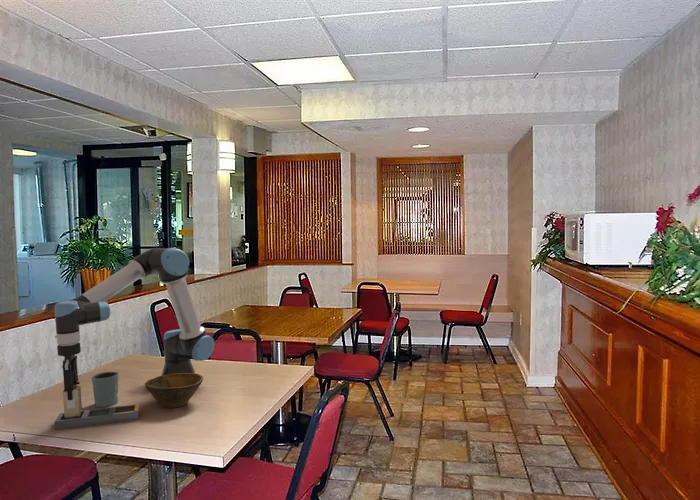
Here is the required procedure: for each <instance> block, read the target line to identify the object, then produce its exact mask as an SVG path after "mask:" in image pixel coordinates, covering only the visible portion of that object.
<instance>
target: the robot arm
mask: <svg viewBox="0 0 700 500" xmlns="http://www.w3.org/2000/svg"><path fill="white" fill-rule="evenodd" d="M189 266H190V259H189V257H188V255H187V253H185V251H183V249H180V248H176V247H167V248H166V247H165V248H164V247H154V248H149V249H147V250H146V251H144V252H142V253H140V254H139V255H137V256H135V257H133V258H132V259H131V260H129V261H128V264H127V265H126V266H124V267H122V268H121V269H120V270H117V272H116V271H115V273H113V274H111V275H110V276H108V277H107V278H105V279H103V280H102V281H101V282H98V284H96V285H95V286H93V287H92V288H90V289H88V290H86V291H85V292H84V293H82V294H81V295H79V296H77V297H75V298H73V299H68V300H65V301H64V300H63V301H58V302H57V303H56V304H55V305H54V319H55V320H54V321H55V332H56V335H55V336H54V338H55V339H56V343H57V346H56V348H57V349H56V350H57V356H59V357H64V358H63V359H64V360H62V365H61V368H62V373H63V376H62V377H63V388H64V389H63V391H62V393H63V392H66V401H67V409H70V408H75V407H76V405H75V390H74V386H79V385H80V383H81V382H80V381H79V371H78V354H80V353H81V343H80V341H81V333H80V326H83V325H87V324H88V325H89V324H94V323H100V322H104V321H106V320H108V319H109V318H110V316H111V307H110V305H109V303H108V302H107V301H108V300H109V299H112V298H113V297H114V296H116V295H117V294H118V293H121V292H122V291H123V290H124V289H126V288H127V287H129V286H130V285H132V284H134V283H135V282H136V281H138V280H143V279H145V278H147V277H148V276H153V275H158V278H159V280H160V282H161V283H162V284H164V285H165V286H166V289H167V292H168V295H169V298H170V302H171V305H172V308H173V310H174V313H175V317H176V320H177V323H178V326H179V328H178V329H171V330H168V331H165V332H164V334H163V348H164V349H163V350H164V351H163V352H164V354H163V355H164V364H163V365H164V366H163V369H162V372H161V376H162V375H167V374H173V373H196V372H195V369H194V366H193V363H192V361H196V362H198V361H200V362H203V361H206V360H208V359H209V358H210V357H211V356H212V354H213V351H214V350H215V339H214V338H213V337H212V336H210V335H207V331H206V329H205V327H204V326H202V325H200V324H201V323H200V321H199V317H198V314H197V312H196V308H195V305H194V301H193V299H192V295H191V292H190V289H189V286H188V283H187V280H186V279H187V276H188V270H189ZM191 360H192V361H191Z"/></svg>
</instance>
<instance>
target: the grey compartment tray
mask: <svg viewBox="0 0 700 500" xmlns="http://www.w3.org/2000/svg"><path fill="white" fill-rule="evenodd" d="M139 414H141V404H140V403H138V404H136V403H133V404H126V405H116V406H112V407H111V406H109V407H101V408H95V409H85V410H82V413H81V415H80V417H74V418H66V419H65V416H64V412H61V413H60V412H59V414H58V415H57V417H56V419H55V420H54V431H57V430H64V429H72V428H73V429H74V428H81V427H82V426H83V427H89V426H90V425H91V426H97V424H99V425H105V424H106V423H107V424H114V422H115V423H122V422H129V421H137V420H138V421H139V419H140V415H139ZM83 427H82V428H83Z"/></svg>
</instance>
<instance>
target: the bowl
mask: <svg viewBox="0 0 700 500" xmlns="http://www.w3.org/2000/svg"><path fill="white" fill-rule="evenodd" d="M203 381H204V376H203V375H201V374H199V373H196V372H195V373H173V374H167V375H162V374H161V375H159V376H156V377H154V378H151V379H149V380H147V381H146V382H145V383H144V386H145V388H146V390H147V391H148V393H150V394H151V396H152V397H153V398H154V400H156V401H157V402H158V404H160V405H161V406H162V408H166V409H167V408H168V409H170V408H171V409H173V408H179V407H180V408H181V407H182V406H186V404H187V403H189V401H190V399H192V397H193V396H194V394H195V393H196V391H197V390H198V388H199V387H201V386H202V383H203Z"/></svg>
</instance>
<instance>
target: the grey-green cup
mask: <svg viewBox="0 0 700 500" xmlns="http://www.w3.org/2000/svg"><path fill="white" fill-rule="evenodd" d="M119 375H120V373H119V372H118V371H117V372H116V371H103V372H98V373H95V374H93V375H91V383H92V391H93V398H94V399H93V401H94V406H95V407H97V408H109V407H111V406H112V407H113V406H115V405H117V404H118V403H119V377H120V376H119Z"/></svg>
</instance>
